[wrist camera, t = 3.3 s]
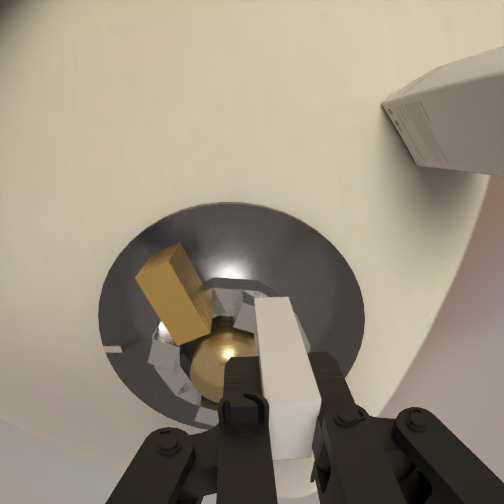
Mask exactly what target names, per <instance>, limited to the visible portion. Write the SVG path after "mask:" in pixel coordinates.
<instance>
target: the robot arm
mask: <svg viewBox="0 0 504 504" xmlns="http://www.w3.org/2000/svg"><path fill="white" fill-rule="evenodd" d="M254 344H255V356H249V357H230V359H229V360H228V362H227V363H226V364H225V368H224V387H223V398H222V399H220V401H219V403H218V406H217V409H218V418H219V423H218V424H217V425H216V426H215V427H214V428H212V429H210V430H208V431H205V432H202V433H198V434H194V435H188V434H187V433H186V432H185V431H183V430H181V429H178V428H171V427H167V428H161V429H158V430H156V431H154V432H152V433H150V435H149V436H148V437H147V438H146V439H145V441H144V442H143V444H142V445H141V447H140V449H139V450H138V452H137V453H136V455H135V457H134V458H133V460H132V462H131V463H130V465H129V466H128V468H127V470H126V471H125V473H124V474H123V476H122V478H121V479H120V481H119V483H118V484H117V486H116V487H115V489H114V490H113V492H112V494H111V495H110V497H109V499H108V500H107V502H106V503H105V504H201V502H202V499H203V497H204V496H206V495H210V494H214V493H217V502H216V504H278V503H277V494H276V486H275V477H274V468H273V460H287V459H298V458H308V457H311V453H312V449H313V453H314V457H315V461H314V466H313V470H312V474H311V481H310V482H314V480H315V481H316V486H317V490H318V495H319V500H320V504H504V483H503V482H502V481H501V480H500V479H499V478H498V477H497V476H496V475H495V474H494V473H493V472H492V471H491V470H490V469H489V468H488V467H487V466H486V465H485V464H484V463H483V462H482V461H481V460H480V459H479V458H478V457H477V456H476V455H475V454H474V453H472V452H471V450H470V449H469V448H467V447H466V446H465V445H464V444H463V443H462V442H461V441H460V440H459V439H458V438H457V437H456V436H455V435H454V434H453V433H452V432H451V431H450V430H449V429H448V428H447V427H446V426H445V425H444V424H443V423H442V422H441V421H440V420H439V419H438V418H436V416H435V415H433V414H432V413H431V412H429V411H428V410H426V409H422V408H417V407H411V408H407V409H404V410H403V411H401V412H400V413H399V414H398V416H397V418H396V419H389V418H377V417H372V416H370V415H369V414H368V413H367V412H366V410H365V409H363V408H362V407H360V406H358V405H356V404H355V402H354V399H353V397H352V395H351V392H350V390H349V388H348V385H347V383H346V381H345V378H344V377H343V374H342V371H341V370H340V367H339V364H338V362H337V360H336V358H334V357H333V356H332V355H331V354H330V353H329V352H327V351H326V352H312V353H307V352H306V349H305V346H304V343H303V340H302V337H301V333H300V330H299V327H298V324H297V321H296V318H295V315H294V312H293V309H292V306H291V303H290V300H289V297H266V298H254Z"/></svg>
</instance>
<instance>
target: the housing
mask: <svg viewBox="0 0 504 504" xmlns="http://www.w3.org/2000/svg"><path fill="white" fill-rule="evenodd" d="M178 242H180V243H181V244H182V246H183V248H184V250H185V252H186V254H187V256H188V258H189V259H190V261H191V263H192V265H193V267H194V269H195V270H196V272H197V274H198V276H199V278H200V280H201V281H202V282H204V281H207V280H209V279H211V278H213V277H220V278H233V279H246V280H258V281H260V282H261V283H263V284H264V285H266V286H268V287H269V288H271V289H272V290H274V291H275V292H277V293H279V294H280V295H282V296H283V297H289V300H290V301H291V302H292V303H293V306H294V308H295V310H296V312H297V314H298V317H299V319H300V321H301V323H302V325H303V328H304V330H305V332H306V334H307V337H308V340H309V343H310V346H311V347H310V351H309V353H312V352H326V351H327V352H329V353H330V354H331V355H332V356H333V357H334V358H336V360H337V362H338V364H339V367H340V370H341V371H342V374H343V377H344V378H345V377H346V376H347V374H348V373H349V371H350V369H351V368H352V366H353V364H354V362H355V360H356V358H357V355H358V352H359V350H360V347H361V343H362V338H363V334H364V322H365V315H364V303H363V299H362V295H361V290H360V287H359V285H358V282H357V280H356V278H355V275H354V273H353V271H352V270H351V268H350V266H349V265H348V263H347V262H346V260H345V258H344V257H343V256H342V255H341V254H340V253H339V251H338V250H337V249H336V248H335V247H334V246H333V244H332V243H331V242H330V241H328V240H327V239H326V238H325V237H324V236H323V235H322V234H320V233H319V232H318V231H317V230H316V229H314V228H313V227H311V226H309V225H308V224H306V223H305V222H303V221H302V220H300V219H298V218H296V217H293V216H291V215H289V214H287V213H285V212H282V211H279V210H276V209H272V208H269V207H266V206H262V205H255V204H249V203H241V202H219V203H211V204H202V205H198V206H194V207H190V208H187V209H183V210H180V211H178V212H175V213H173V214H171V215H168V216H166V217H164V218H162V219H160V220H159V221H157V222H155V223H154V224H152V225H150V226H149V227H147V228H146V229H145V230H144V231H142V232H141V233H140V234H139V235H138V236H136V237H135V238H134V239H133V240H132V241H131V242H130V243H129V244H128V245H127V246H126V248H125V249H124V250H123V251H122V252H121V253H120V254H119V256H118V257H117V259H116V260H115V262H114V264H113V265H112V267H111V268H110V270H109V272H108V275H107V277H106V279H105V282H104V284H103V288H102V292H101V296H100V301H99V313H98V317H99V330H100V335H101V339H102V344H103V347H104V350H105V352H106V354H107V357H108V359H109V361H110V363H111V365H112V367H113V368H114V370H115V372H116V373H117V374H118V376H119V377H120V379H121V380H122V381H123V383H124V384H125V385H126V386H127V387H128V388H129V389H130V390H131V391H132V393H134V394H135V395H136V396H137V397H138V398H139V399H140V400H142V401H143V402H144V403H146V404H147V405H148V406H150V407H151V408H153V409H154V410H156V411H158V412H159V413H161V414H163V415H165V416H167V417H169V418H171V419H173V420H176V421H178V422H181V423H183V424H187V425H190V426H193V427H197V428H202V429H207V430H210V429H212V428H214V427H215V426H212V425H208V424H204V423H200V422H196V421H194V418H195V410H196V405H194V404H192V403H190V402H188V401H186V400H184V399H182V398H180V397H178V396H176V395H175V394H174V393H173V392H172V390H171V389H170V388H169V387H168V385H167V384H166V383H165V381H164V380H163V379H162V378H161V376H160V375H159V374H158V372H157V371H156V370H155V368H154V365H152V364H149V363H148V359H149V355H150V351H151V347H152V343H153V342H152V334H153V332H154V330H155V327H156V325H157V323H158V321H159V320H160V318H159V316H158V315H157V313H156V312H155V310H154V308H153V307H152V305H151V304H150V302H149V300H148V299H147V297H146V296H145V294H144V292H143V291H142V289H141V287H140V286H139V284H138V282H137V281H136V279H135V277H136V275H137V274H138V273H139V271H140V270H141V269H142V267H143V266H144V265H145V263H146V262H147V260H148V259H149V258H150V256H152V255H154V254H156V253H158V252H160V251H162V250H164V249H166V248H168V247H170V246H172V245H174V244H176V243H178ZM183 353H184V354H185V356H186V357H187V359H188V360H189V362H190V363H191V370H190V378H191V381H192V384H193V386H194V387H195V389H196V390H197V391H198V392H199V393H200V394H201V395H202V396H204V397H205V398H207V399H209V400H211V401H214V402H217V403H219V401H220V399H222V398H223V387H224V368H225V364H226V363H227V362H228V360H229V359H230V357H249V356H255V344H254V333H252V332H248V331H245V330H241V329H238V328H235V327H233V316H222V315H219V316H216V317H214V318H212V325H211V333H209V334H207V335H204V336H202V337H199V338H196V339H194V340H191V341H189V342H186V343H183Z"/></svg>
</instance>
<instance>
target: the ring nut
mask: <svg viewBox="0 0 504 504" xmlns="http://www.w3.org/2000/svg"><path fill="white" fill-rule="evenodd" d="M135 279H136V281H137V282H138V284H139V286H140V287H141V289H142V291H143V292H144V294H145V296H146V297H147V299H148V300H149V302H150V304H151V305H152V307H153V308H154V310H155V312H156V313H157V315H158V316H159V318H160V320H159V321H158V323H157V325H156V327H155V330H154V332H153V334H152V342H153V343H152V347H151V351H150V355H149V359H148V363H149V364H152V365H154V368H155V370H156V371H157V372H158V374H159V375H160V376H161V378H162V379H163V380H164V381H165V383H166V384H167V385H168V387H169V388H170V389H171V390H172V392H173V393H174V394H175V395H176V396H178V397H180V398H182V399H184V400H186V401H188V402H190V403H192V404H194V405H196V410H195V418H194V421H196V422H200V423H204V424H208V425H212V426H216V425H217V424H218V423H219V418H218V409H217V406H218V403H217V402H214V401H211V400H209V399H207V398H205V397H204V396H202V395H201V394H200V393H199V392H198V391H197V390H196V389H195V387H194V386H193V384H192V381H191V378H190V370H191V363H190V362H189V360H188V359H187V357H186V356H185V354H184V353H183V343H186V342H189V341H191V340H194V339H196V338H199V337H202V336H204V335H207V334H209V333H211V325H212V318H214V317H216V316H219V315H222V316H233V327H235V328H238V329H241V330H245V331H248V332H252V333H254V298H266V297H283V296H282V295H280V294H279V293H277V292H275V291H274V290H272V289H271V288H269V287H268V286H266V285H264V284H263V283H261V282H260V281H258V280H246V279H233V278H220V277H213V278H211V279H209V280H207V281H204V282H202V281H201V280H200V278H199V276H198V274H197V272H196V270H195V269H194V267H193V265H192V263H191V261H190V259H189V258H188V256H187V254H186V252H185V250H184V248H183V246H182V244H181V243H180V242H178V243H176V244H174V245H172V246H170V247H168V248H166V249H164V250H162V251H160V252H158V253H156V254H154V255H152V256H150V258H149V259H148V260H147V262H146V263H145V265H144V266H143V267H142V269H141V270H140V271H139V273H138V274H137V275H136V277H135ZM290 303H291V306H292V309H293V312H294V315H295V318H296V321H297V324H298V327H299V330H300V333H301V337H302V340H303V343H304V346H305V349H306V352H307V353H309V351H310V347H311V346H310V343H309V340H308V337H307V334H306V332H305V330H304V328H303V325H302V323H301V321H300V319H299V317H298V314H297V312H296V310H295V308H294V306H293V303H292V302H291V301H290Z"/></svg>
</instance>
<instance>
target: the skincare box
mask: <svg viewBox="0 0 504 504" xmlns="http://www.w3.org/2000/svg"><path fill="white" fill-rule="evenodd" d="M382 106H383V107H384V109H385V110H386V112H387V114H388V115H389V117H390V119H391V120H392V122H393V124H394V125H395V127H396V129H397V130H398V132H399V134H400V136H401V137H402V139H403V141H404V143H405V144H406V146H407V148H408V150H409V152H410V153H411V155H412V157H413V159H414V161H415V163H416V165H417V166H424V167H433V168H442V169H451V170H458V171H466V172H473V173H480V174H487V175H493V176H499V177H504V47H500V48H497V49H493V50H490V51H486V52H483V53H480V54H477V55H474V56H471V57H468V58H465V59H462V60H458V61H455V62H452V63H449V64H446V65H443V66H440V67H437V68H435V69H434V70H432V71H430V72H428V73H427V74H425V75H423V76H422V77H420V78H419V79H417V80H415V81H414V82H412V83H410V84H409V85H407V86H406V87H404V88H402V89H401V90H399V91H398V92H396V93H395V94H393V95H392V96H390V97H389V98H387V99H386V100H385V101H383V102H382Z"/></svg>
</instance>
